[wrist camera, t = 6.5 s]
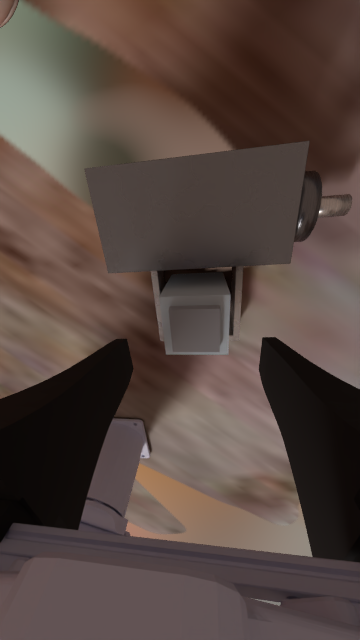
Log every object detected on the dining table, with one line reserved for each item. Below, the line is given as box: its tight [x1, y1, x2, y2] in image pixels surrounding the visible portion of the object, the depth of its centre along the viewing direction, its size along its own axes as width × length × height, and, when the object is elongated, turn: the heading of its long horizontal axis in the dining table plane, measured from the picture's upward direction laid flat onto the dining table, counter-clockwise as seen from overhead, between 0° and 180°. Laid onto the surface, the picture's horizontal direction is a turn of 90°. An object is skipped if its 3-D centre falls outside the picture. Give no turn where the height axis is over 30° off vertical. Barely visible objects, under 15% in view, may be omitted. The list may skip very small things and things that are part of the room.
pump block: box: [159, 272, 230, 355], centre depth 16 cm, size 4×4×7 cm
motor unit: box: [85, 141, 352, 341], centre depth 16 cm, size 16×13×4 cm
